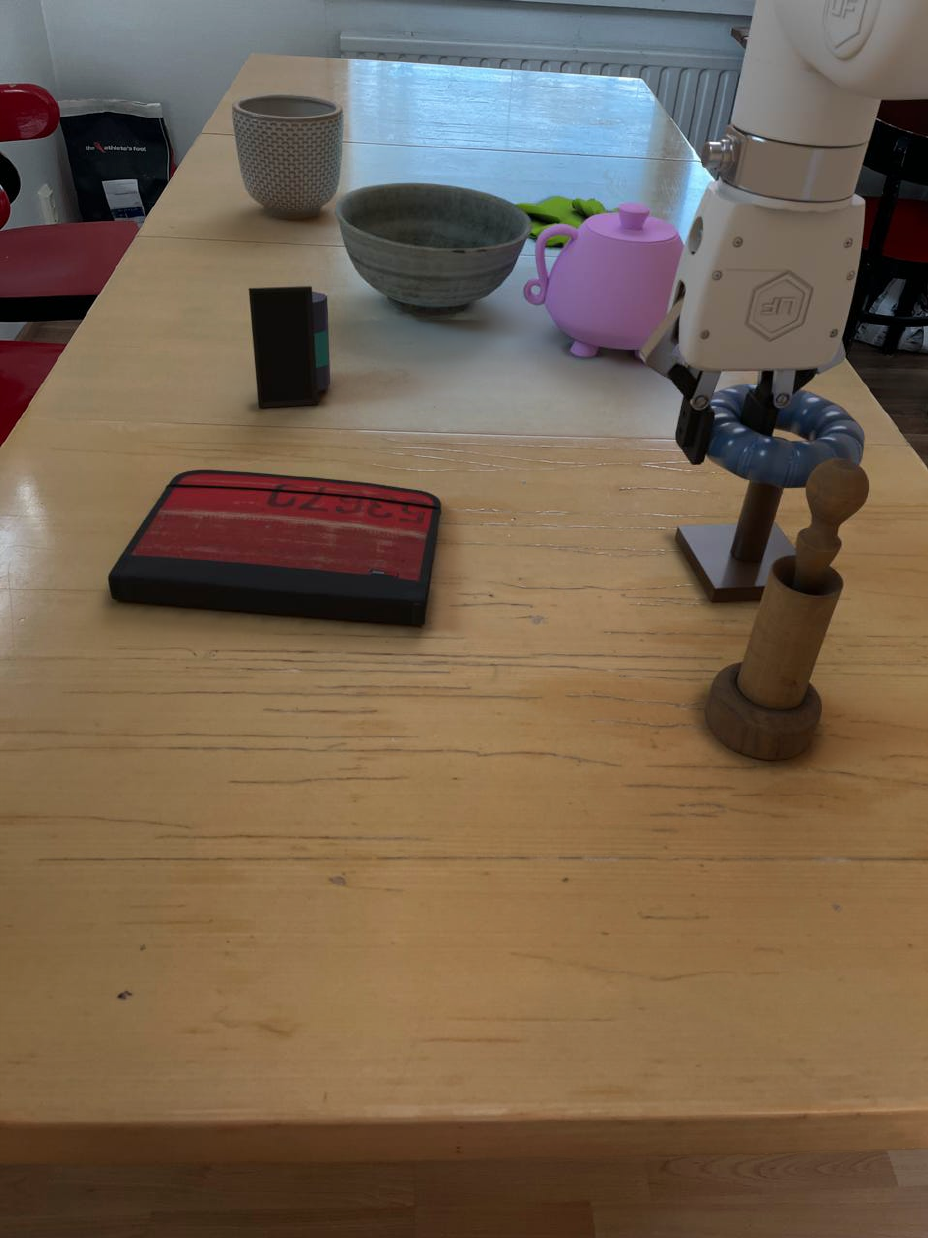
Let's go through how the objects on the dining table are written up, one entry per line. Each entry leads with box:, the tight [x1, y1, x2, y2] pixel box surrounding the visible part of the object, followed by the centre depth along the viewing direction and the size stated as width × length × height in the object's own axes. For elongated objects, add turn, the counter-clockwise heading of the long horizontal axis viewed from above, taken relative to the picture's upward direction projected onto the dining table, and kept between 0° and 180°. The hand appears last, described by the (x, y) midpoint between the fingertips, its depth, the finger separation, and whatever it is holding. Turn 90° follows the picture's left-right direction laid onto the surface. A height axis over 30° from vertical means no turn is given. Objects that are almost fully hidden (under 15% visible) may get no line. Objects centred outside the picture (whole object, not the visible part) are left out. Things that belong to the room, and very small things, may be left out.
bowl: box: [333, 182, 532, 318], centre depth 108 cm, size 21×21×10 cm
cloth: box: [514, 195, 619, 248], centre depth 137 cm, size 20×22×2 cm
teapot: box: [522, 202, 685, 360], centre depth 102 cm, size 22×16×14 cm
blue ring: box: [705, 383, 866, 489], centre depth 67 cm, size 11×11×3 cm
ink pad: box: [107, 469, 442, 627], centre depth 72 cm, size 16×2×21 cm
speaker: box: [248, 285, 331, 409], centre depth 89 cm, size 8×6×10 cm
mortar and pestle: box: [704, 458, 870, 761], centre depth 56 cm, size 7×6×18 cm
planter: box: [231, 93, 345, 221], centre depth 130 cm, size 14×14×13 cm
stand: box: [674, 435, 796, 603], centre depth 71 cm, size 8×8×10 cm
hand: (719, 451), depth 68 cm, fingers closed on blue ring, 3 cm apart
